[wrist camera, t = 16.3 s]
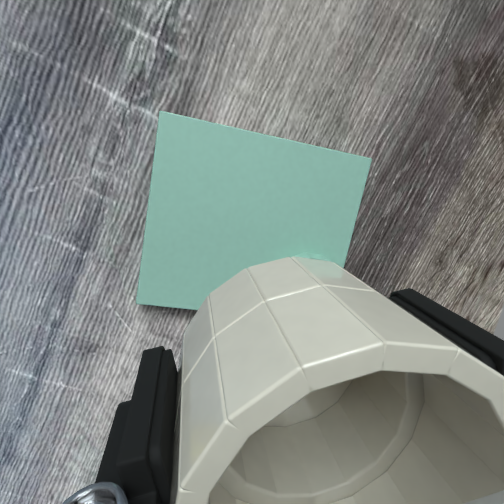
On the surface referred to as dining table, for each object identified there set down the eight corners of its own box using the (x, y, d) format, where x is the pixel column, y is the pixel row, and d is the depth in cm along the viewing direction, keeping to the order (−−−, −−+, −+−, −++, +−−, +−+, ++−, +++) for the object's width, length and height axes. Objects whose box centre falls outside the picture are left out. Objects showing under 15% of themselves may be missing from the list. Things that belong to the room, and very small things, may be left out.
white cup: (399, 266, 11) (589, 360, 6) (349, 436, 12) (465, 634, 7) (196, 237, 10) (205, 325, 4) (167, 432, 11) (146, 675, 6)
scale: (363, 158, 27) (383, 158, 24) (323, 317, 30) (337, 333, 28) (161, 113, 24) (157, 106, 21) (138, 297, 27) (132, 313, 24)
